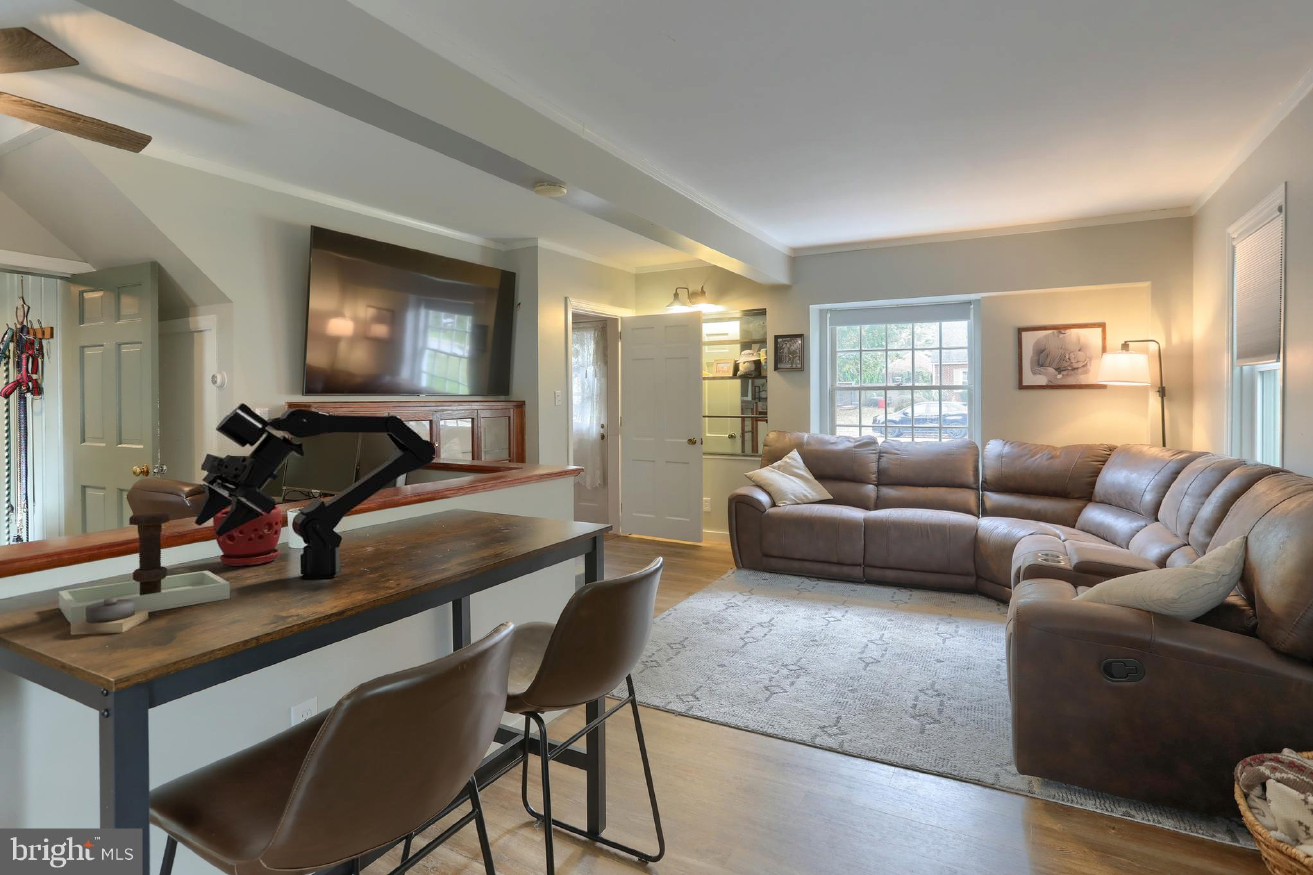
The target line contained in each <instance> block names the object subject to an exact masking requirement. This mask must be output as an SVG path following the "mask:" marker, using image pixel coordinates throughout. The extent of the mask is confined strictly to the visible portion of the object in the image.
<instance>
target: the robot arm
mask: <svg viewBox="0 0 1313 875" xmlns="http://www.w3.org/2000/svg"><path fill="white" fill-rule="evenodd" d="M215 431H217V432H218V433H220V434H221V435H223V436H225V437H226V438H227V439H229V440H231V441H232V442H233V443H235V444H236V445H238V446H239V447H241V448H245V447H246V446H250V447H254V446H255V445H256V444H257V443H258V442H259V441H260V442H259V443H258V444H257V445H256V447H255V448H254V449H253V450H252V451H251V453H249V454H248V455H247V456H245V455H243V456H240V457H237V456H234V455H231V454H227V455H226V456H224V457H223V456H218V455H214V454H210V453H206V455H205V457H204V460H203V463H202V465H201V468H200V470H201V471H205V472H206V473H207V474H206V475H204V477H203V478H202V479H201V481H202V482H203V483H202V487H203V488H204V492H205V498H204V499H203V503H202V505H201V506H200V507H201V508H200V509H199V512H198V514H197V516H196V518H195V519H194V524H195V525H197V526H202V525H204V524H205V523H207V522H208V521H210V520H212V519H213V517H214V516H215V515H217V514H218V513H220V512H221V511H223V510H226V509H227V508H228V507H229V506H231V507H230V508H229V509H230V510H229V512H228V513H227V515H226V516H225V518H224V519H223V521H222V522H221V524H220V525H219V527H218V529H217V530H216V532H215V533H214V535H215V534H216V535H218V536H222V535H224V534H226V533H228V532H230V531H232V530H234V529H236V528H237V527H239V526H241V525H243V524H245V523H247V522H249V521H251V520H253V519H256V518H258V517H260V516H261V517H262V516H263V515H264V514H262V513H261V512H264V513H266V514H270V513H271V511H272V510H273V509H274V508H275V507H276V499H274V498H273V497H272V496H270V495H268V494H267V493H266V492H264V491H262V490H263V489H264V488H265V486H266V485H267V484H268V482H269V481H270V480H272V481H276V480H277V478H278V477H279V475H277V474H276V473H277V472H278V471H279V469H280V468H281V467H282V466H283V465H284V463H285V462H286V461H287V460H288V458H289V457H290V456H291V455H294V456H296V457H304V456H305V452H304V448H303V446H304V443H302V442H297V443H295V442H294V441H293V440H291V439H289V438H288V437H291V438H300V439H301V438H309V437H317V436H322V435H326V434H331V433H333V434H334V433H363V434H364V433H366V434H367V433H368V434H369V433H371V434H375V433H376V434H381V433H383V434H385V435H386V437H388V439H389V441H390V442H391V443H392V444H393V445H394V446H395V447H396V449H395V450H394V451H393V452H392V454H391V456H390V457H389V458H388V460H386V461H385V462H384V463H382V464H381V465H379V466H378V467H376V468H375V469H373V470H371V472H369V473H368V474H366V475H365V476H363V477H362V478H360V479H359V480H357V481H356V482H354V483H353V484H352V485H350V486H348V487H347V488H345V489H344V490H343V491H341V492H340V493H337V494H336V495H335V496H334V497H332V498H330V499H328V500H326V501H324V500H322V499H320V498H318V497H317V498H316V497H315V498H313V499H312V500H311V501H310V502H309V503H308V504H307V505H306V506H304V507H300V508H297V510H298V513H296V514H295V516H294V517H293V518H292V522H291V527H292V531H293V532H294V534H296V535H297V536H298V537H300V538H301V539H302V541H303V543H304V544H305V545H304V547H303V548H302V553H300V556H299V558H300V559H299V560H300V562H299V563H300V564H299V565H300V575H301V576H300V580H305V579H307V580H309V579H310V580H311V579H333V578H336V577H337V576H339V575H340V574H341V573H342V572H343V568H341V557H340V556H341V549H340V547H341V546H340V545H341V543H342V541H343V537H342V536H341V535H340V534H339V533H337V532H336V531H335V529H336V528H337V526H338V525H339V524H340V522H341V521H342V519H343V518H344V517H345V515H347V514H348V513H350V512H351V511H353V510H354V509H356V508H357V507H359V506H360V505H361V504H362V503H364V502H365V501H367V500H368V499H370V498H371V497H372V496H374V495H375V494H377V493H379V492H380V491H381V490H382V489H384V488H386V487H387V486H388V485H390V484H391V483H393V482H394V481H395V480H397V479H398V478H400V477H401V476H403V475H407V474H408V473H411V472H415V471H417V470H420V469H422V468H425V467H426V466H428V465H430V464H431V463H432V462H434V460H435V459H436V448H435V445H434V444H433V443H432V441H429V440H428V439H423V437H422V436H420V434H419V433H417V432H416V431H415V430H413V429H412V428H411V427H410V426H408V424H406V423H405V422H404V421H403V419H402V418H401V417H400V416H398V415H394V414H393V415H390V414H388V415H387V414H386V415H384V416H383V415H382V416H380V415H378V416H377V415H343V414H340V415H339V414H337V415H335V414H330V413H324V412H320V411H316V410H311V409H304V408H291V409H290V408H289V409H288V410H285V411H284V412H283V413H282V414H281V416H279V417H275V418H273V417H272V418H267V419H265V418H264V417H262V416H261V415H259V414H258V413H256V412H255V411H254V410H252V408H251V407H250V406H248V405H247V404H245V403H240V404H239V405H238V406H237V407H235V409H233V410H232V411H231V412H230V413H229V414H227V415H225V417H223V419H222V420H221V421H220V422H219V424H218V425H217V426H216V428H215ZM272 431H276V432H282V433H283V434H284V435H283V434H282V435H280V436H278V435H276V434H274V433H273V432H272ZM264 435H265V436H264ZM285 435H286V436H288V437H286V436H285ZM263 436H264V437H263ZM261 439H262V440H261Z"/></svg>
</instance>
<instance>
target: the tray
mask: <svg viewBox="0 0 1313 875" xmlns="http://www.w3.org/2000/svg"><path fill="white" fill-rule="evenodd" d="M139 583H140V582H136V581H135V580H130V581H123V582H118V583H117V582H116V583H110V584H108V583H107V584H102V585H96V586H95V585H94V586H87V587H82V588H75V589H74V588H73V589H65V590H58V608H59V609H61V610H60V611H61V613H62V614H63V616H64V617H65V619H66V620H67V621H68V623H69V622H70V623H69V624H70V626H71V625H72V624H74V623H76V622H78V621H80V620H83V619H85V618H86V607H87V606H88V605H91V604H94V603H98V602H103V601H104V600H105V599H109V598H117V600H118V599H130V600H134V601H135V610H148V613H151V612H157V611H162V610H168V609H174V608H181V607H186V606H193V605H197V604H204V603H210V602H217V601H222V600H226V599H227V600H229V599H231V596H230V592H231V590H230V584H231V583H230V582H229V581H227V580H225V579H223V578H222V577H220V576H218V575H216V574H214V573H212V572H211V571H210V570H202V571H195V572H194V571H193V572H189V573H181V574H174V575H167V576H166V577H165V578H164V579H162V580H161V587H162V588H161V589H162V590H161V591H162V592H159V593H153V594H146V595H139V594H140V588H139V587H140V586H139V585H140V584H139Z"/></svg>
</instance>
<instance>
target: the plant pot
mask: <svg viewBox="0 0 1313 875" xmlns="http://www.w3.org/2000/svg"><path fill="white" fill-rule="evenodd" d="M230 509H231V508H228V509H227V508H225V509H224V510H223V511H221V512H220V513H218V514H217V515H215V516H214V517H213V518H212V523H213V525H212V526H213V532H214V536H215V540H216V543H217V545H218V548H219V549H220V550H221V552H222V554H221V555H220V556H219V559H220V561H221V563H223V564H225V565H228V566H233V567H244V566H245V565H247V566H257V565H261V564H264V563H265V564H266V563H268V562H271V561H273V560H275V559H276V558H278V556H280V553H281V550H280V549H279V548H276V547H277V545H278V544H279V540H280V537H281V532H282V518H283V517H282V508H281V507H280V506H276V507H275V508H274V509H273V510H272V511H271V513H270V514H266V513H264V512H261V513H262V514H264V515H263V516H262V517H261V516H260V517H258V518H256V519H253V520H251V521H249V522H247V523H245V524H243V525H241V526H239V527H237V528H236V529H234V530H232V531H230V532H228V533H226V534H224V535H222V536H218V535H216V534H215V532H216V530H217V529H218V527H219V525H220V524H221V522H222V521H223V519H224V518H225V516H226V515H227V513H228V512H229V510H230ZM266 526H267V527H268V528H267V530H265V528H266ZM245 567H246V566H245Z"/></svg>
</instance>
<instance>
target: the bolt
mask: <svg viewBox="0 0 1313 875" xmlns="http://www.w3.org/2000/svg"><path fill="white" fill-rule="evenodd" d="M169 522H170V514H169V513H166V512H143V513H136V514H132V515H131V516H130V517H129V518H128V523H129V526H137V534H138V537H137V538H138V557H139V558H138V568H136V569H135V570H133V572H132V581H136V582H140V583H139V584H140V585H139V586H140V587H139V588H140V594H139V595H146V594H153V593H159V592H162V591H161V590H162V589H161V588H162V587H161V580H162V579H164V578H165V577H166V576H168V568H167V567H166V566H163V565H162V542H161V541H162V540H161V537H162V530H163V528H162V526H163V524H166V523H169Z"/></svg>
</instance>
